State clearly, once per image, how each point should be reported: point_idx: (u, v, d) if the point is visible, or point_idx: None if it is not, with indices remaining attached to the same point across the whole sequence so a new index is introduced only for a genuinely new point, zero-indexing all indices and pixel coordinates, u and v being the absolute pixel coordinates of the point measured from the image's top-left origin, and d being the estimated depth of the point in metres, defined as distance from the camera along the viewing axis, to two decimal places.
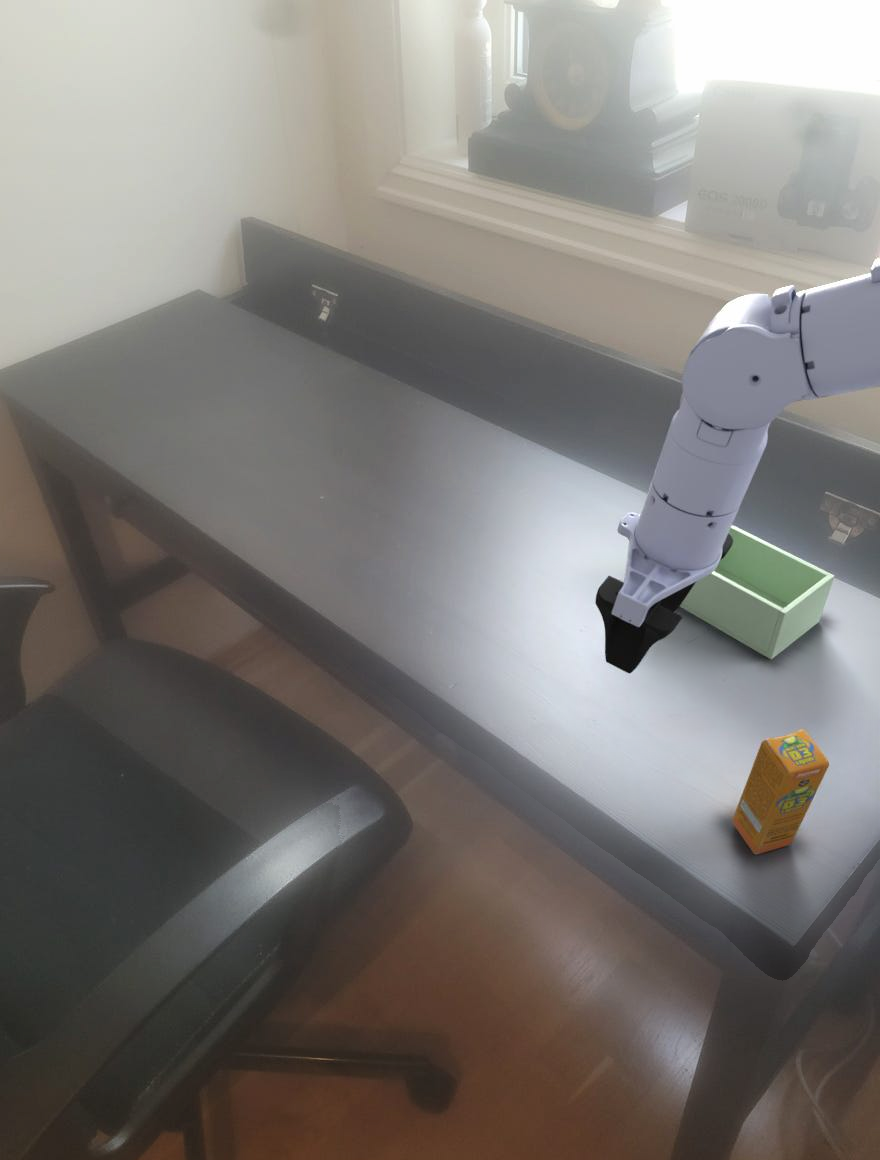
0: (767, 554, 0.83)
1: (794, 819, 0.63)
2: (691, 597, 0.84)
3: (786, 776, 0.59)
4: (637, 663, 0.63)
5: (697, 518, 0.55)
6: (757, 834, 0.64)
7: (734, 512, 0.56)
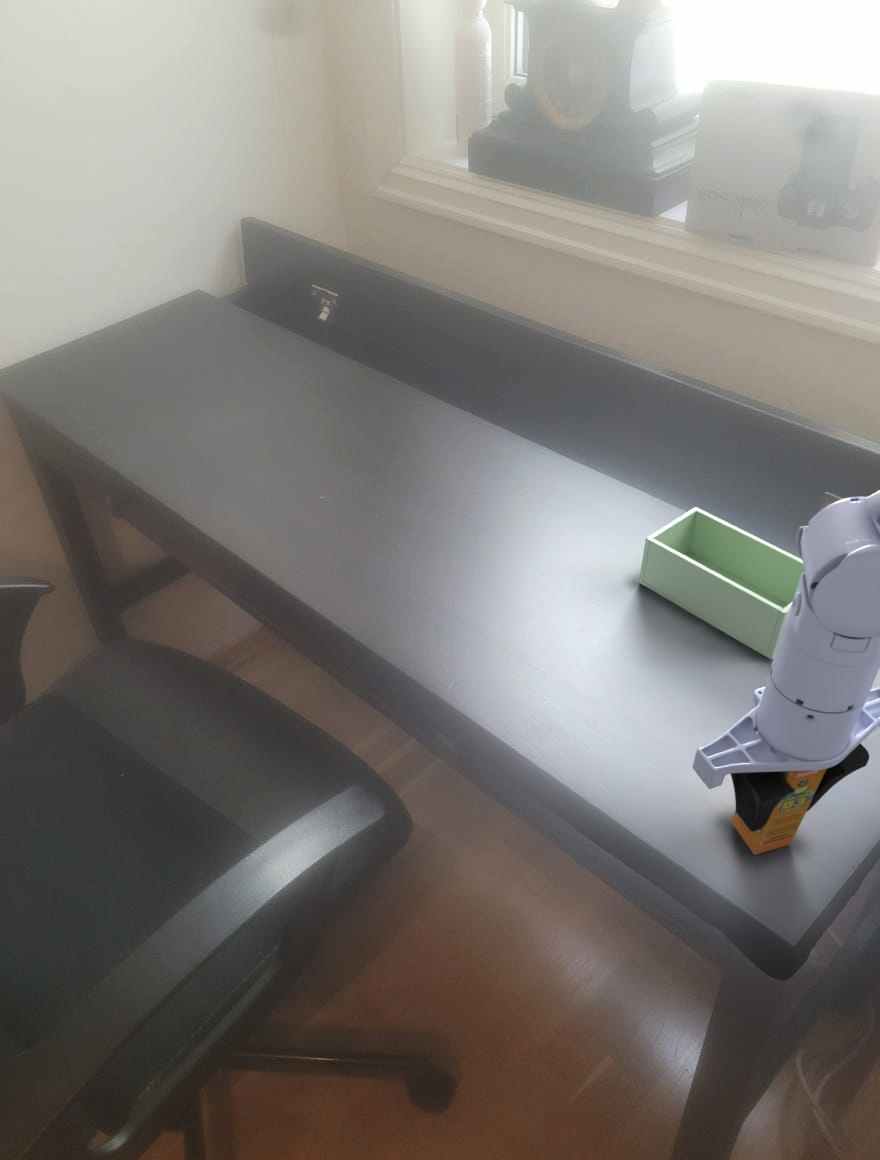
0: (767, 554, 0.83)
1: (793, 819, 0.63)
2: (691, 597, 0.84)
3: (785, 777, 0.59)
4: (756, 823, 0.62)
5: (794, 706, 0.54)
6: (756, 834, 0.64)
7: (841, 714, 0.53)
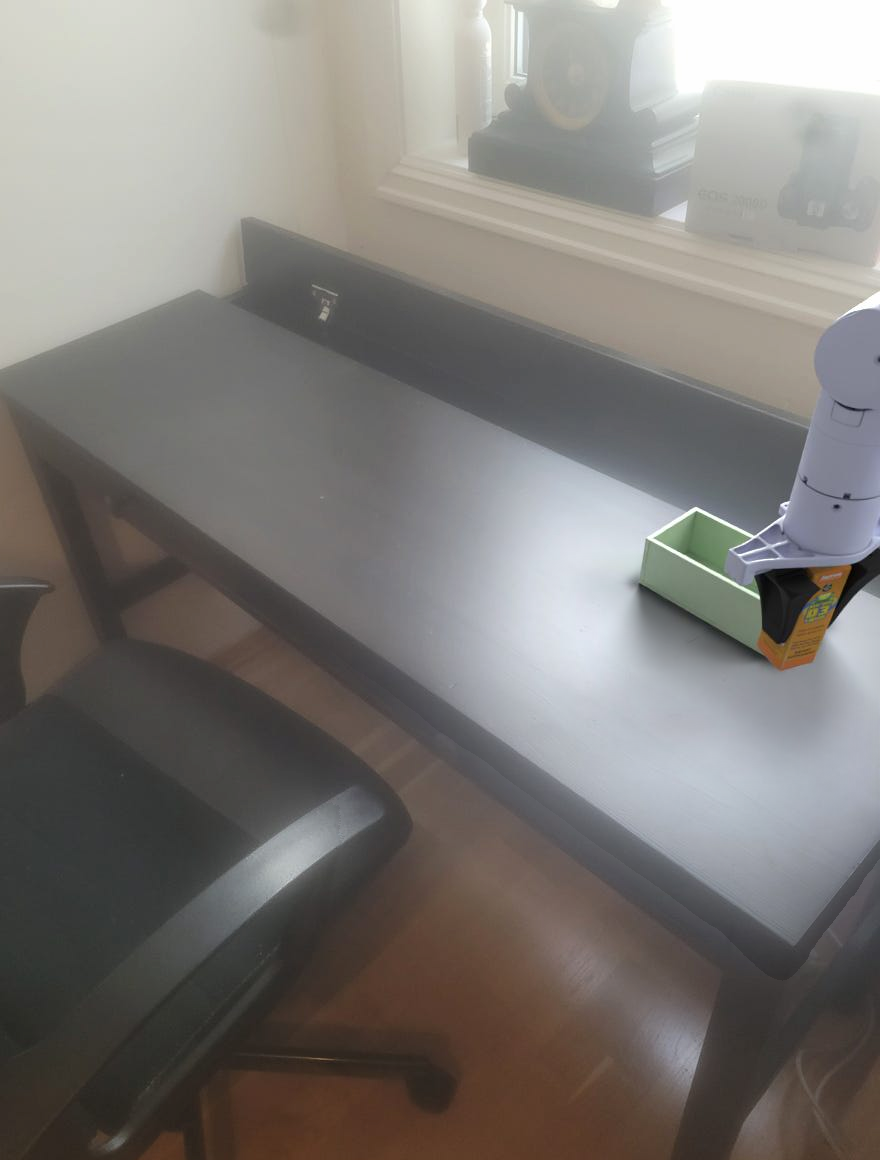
0: None
1: (817, 631, 0.67)
2: (691, 597, 0.84)
3: (811, 579, 0.63)
4: (782, 633, 0.66)
5: (821, 496, 0.58)
6: (781, 649, 0.68)
7: (865, 501, 0.57)
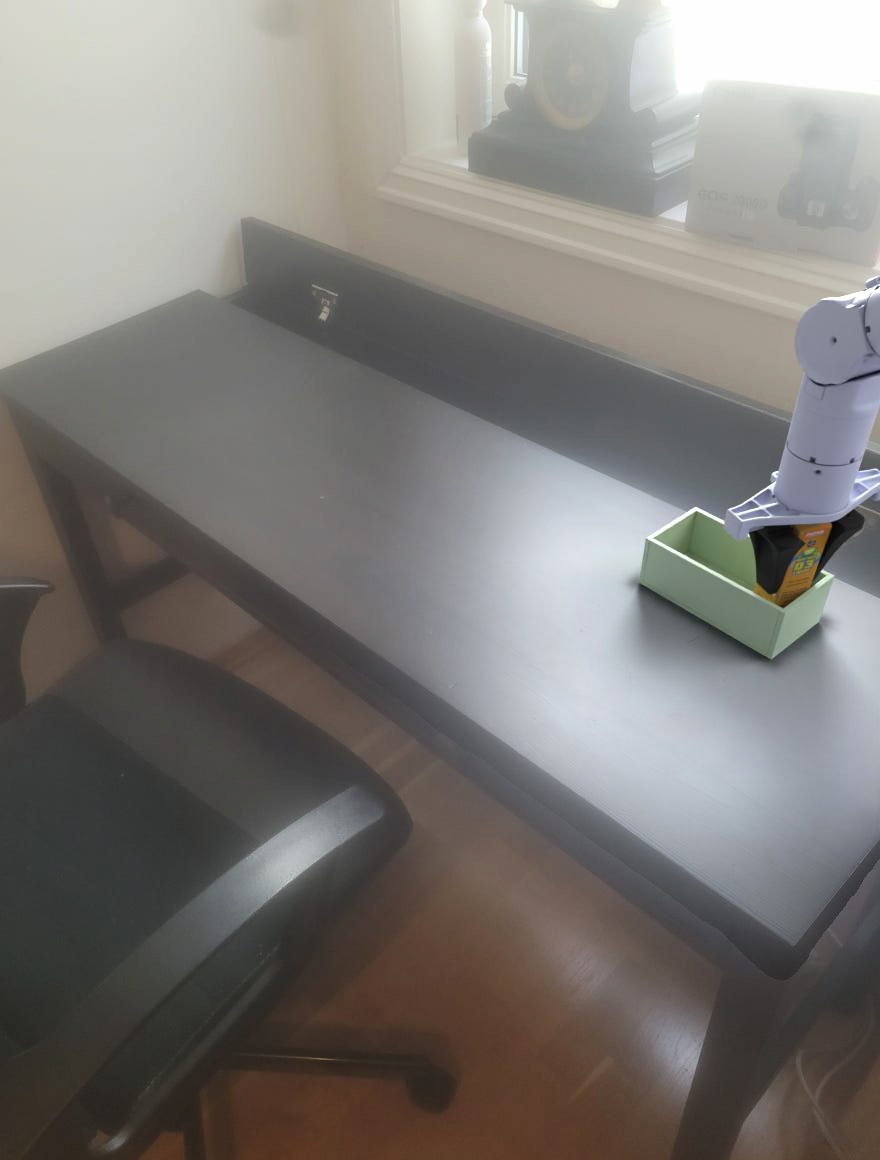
0: None
1: (803, 583, 0.78)
2: (691, 597, 0.84)
3: (797, 535, 0.74)
4: (773, 584, 0.77)
5: (805, 463, 0.69)
6: (773, 598, 0.79)
7: (842, 467, 0.68)
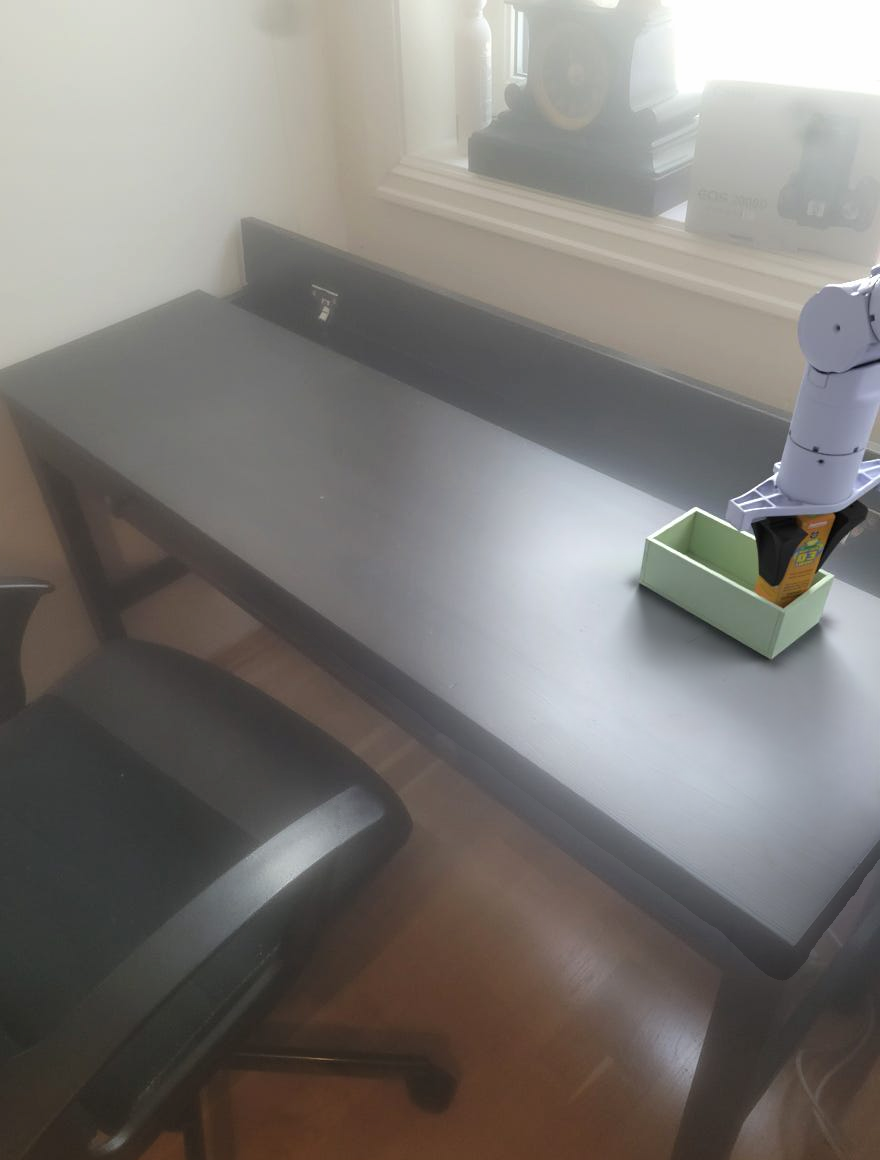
0: None
1: (806, 575, 0.77)
2: (691, 597, 0.84)
3: (800, 526, 0.73)
4: (776, 576, 0.76)
5: (808, 453, 0.68)
6: (775, 591, 0.78)
7: (845, 456, 0.67)
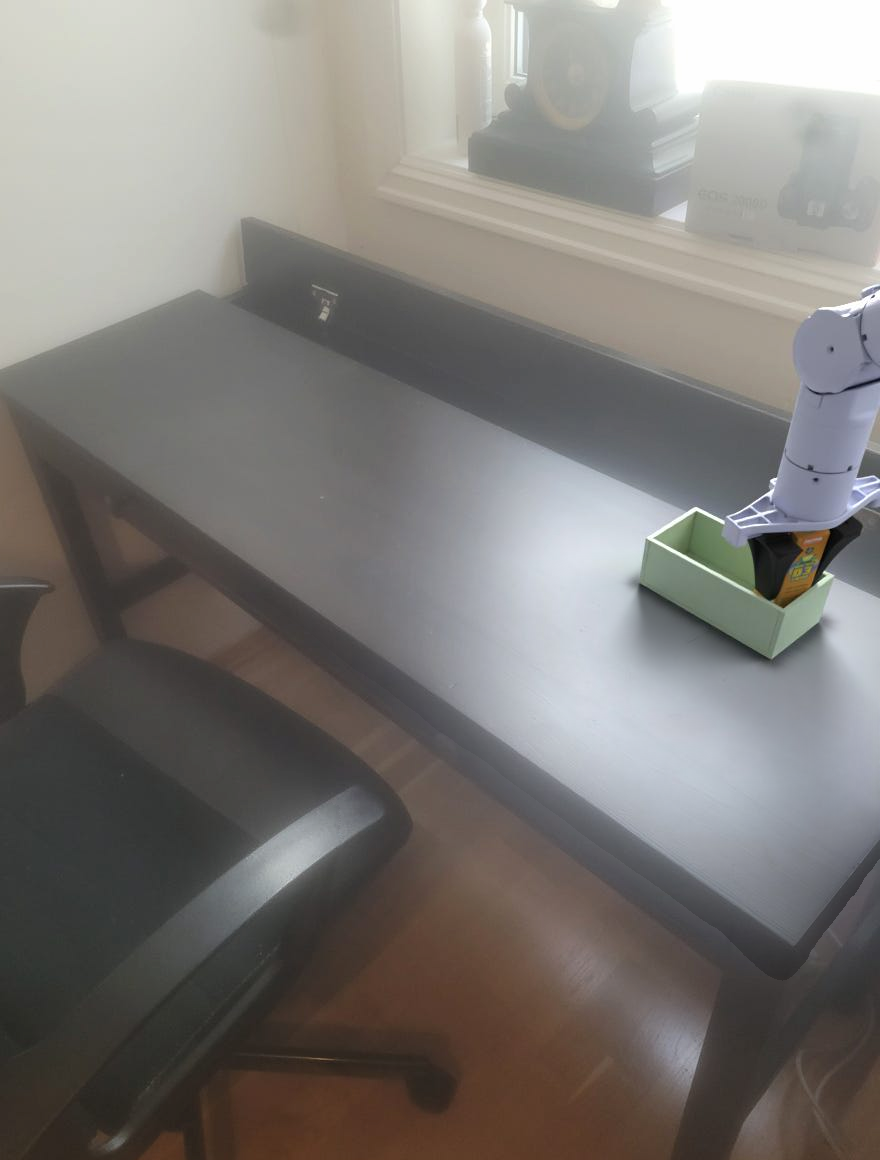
0: None
1: (802, 589, 0.78)
2: (691, 597, 0.84)
3: (796, 542, 0.74)
4: (772, 590, 0.77)
5: (803, 471, 0.69)
6: None
7: (840, 475, 0.68)
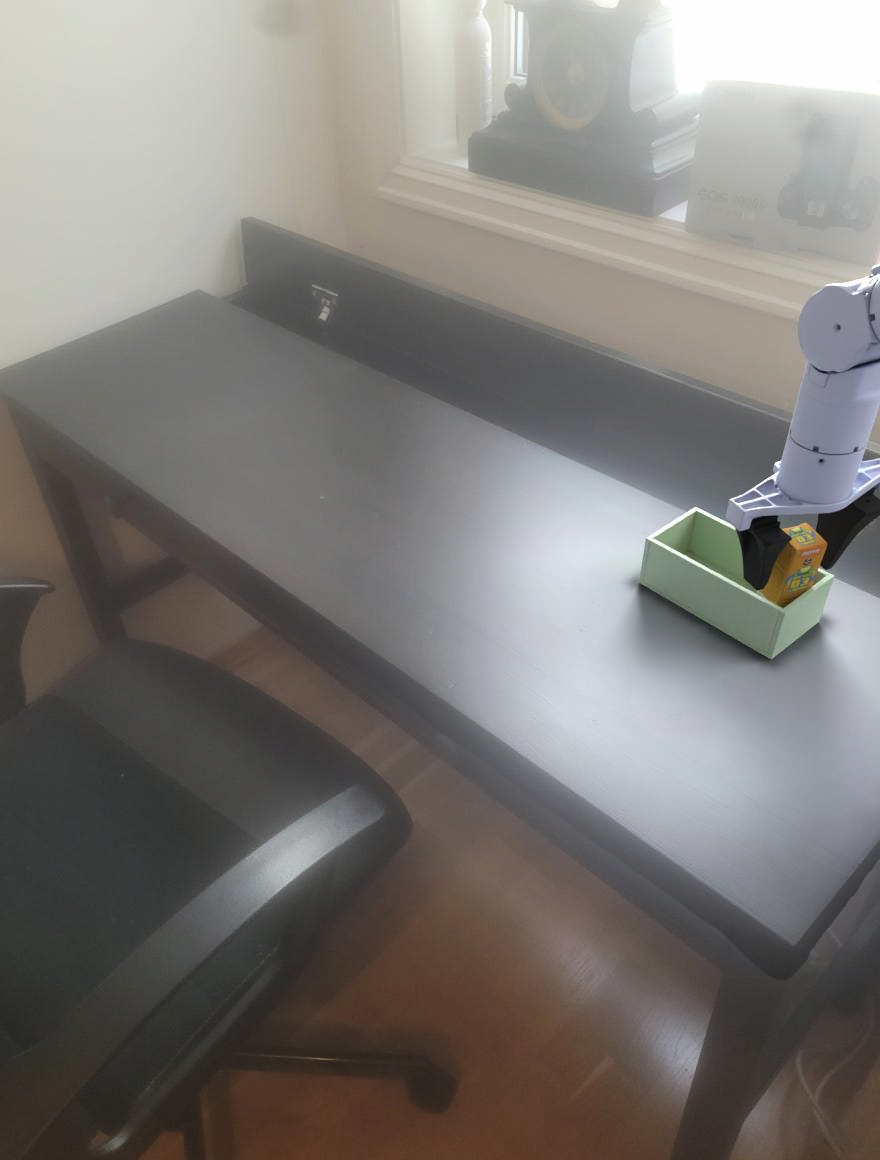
0: None
1: None
2: (691, 597, 0.84)
3: (794, 554, 0.75)
4: (760, 580, 0.76)
5: (808, 452, 0.68)
6: None
7: (845, 456, 0.67)
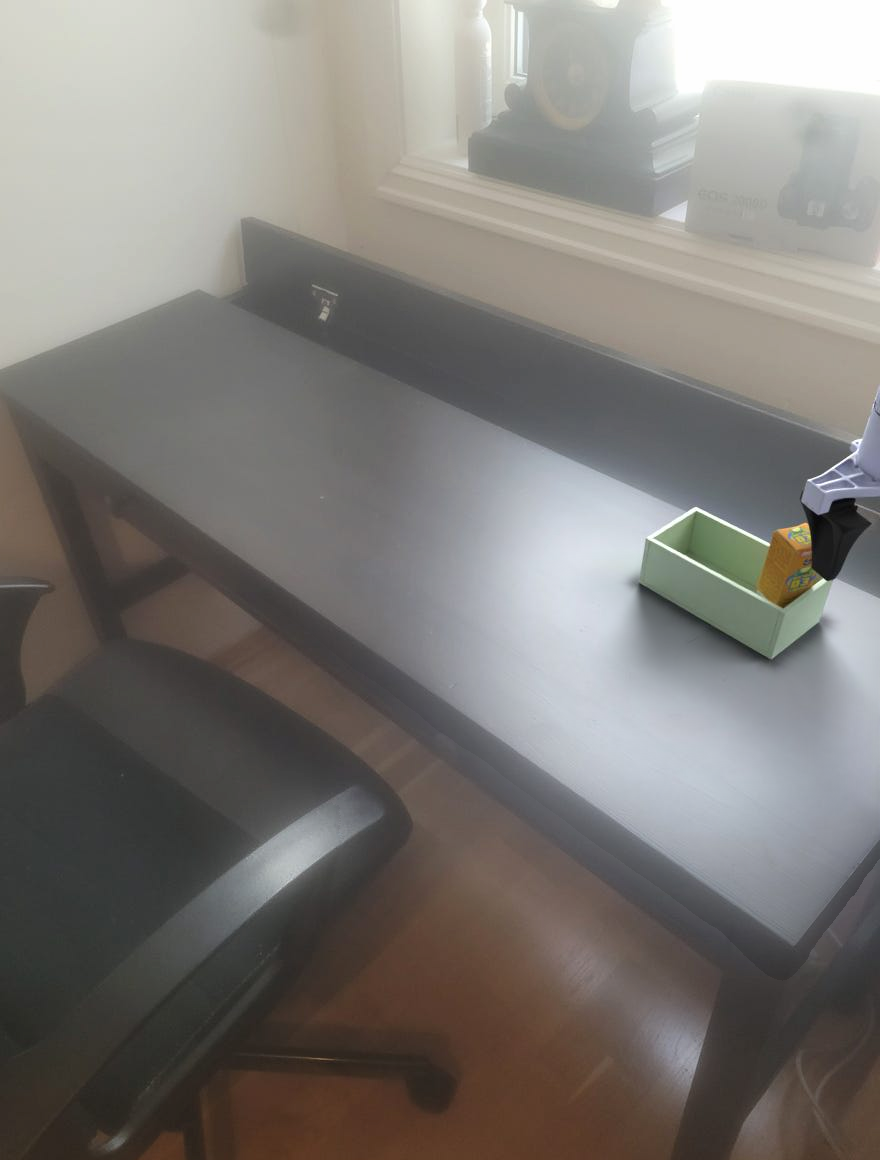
0: None
1: None
2: (691, 597, 0.84)
3: (794, 554, 0.75)
4: (832, 569, 0.70)
5: None
6: None
7: None
